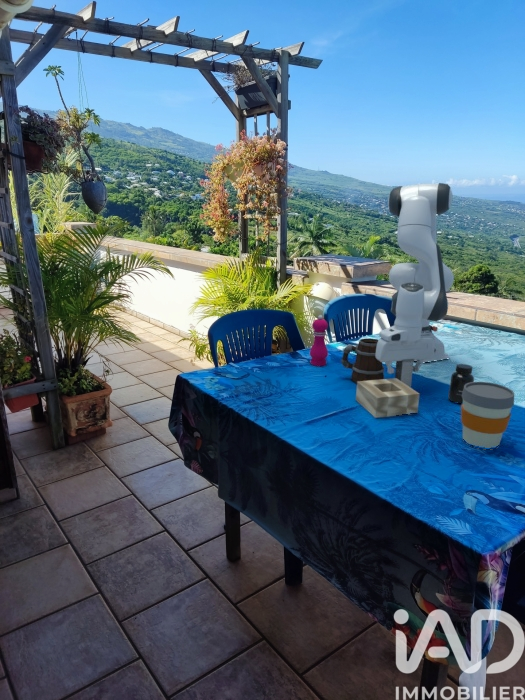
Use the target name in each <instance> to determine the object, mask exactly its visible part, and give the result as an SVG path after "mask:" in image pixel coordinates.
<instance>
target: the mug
mask: <svg viewBox="0 0 525 700" xmlns="http://www.w3.org/2000/svg"><path fill="white" fill-rule="evenodd" d="M378 340H379V339H376V338H366V337H365V338H360V339H359V341H358V343H357V344H358V345H355V346H354V345H353V344H348V345H347V346H345V347H344V349H343V353H342V359H340V362H341V365H342V366H343V367H344V368H345V369H346V370H348V369H351V371H352V372H351V375H350V376H351V377H350V380H351V381H352V382H353V383H355V384H356V385H357V381H368V380H380V379H385V373H384V372H385V366H383V362H380V361H379V360H377V358H376V356H375V354H376V347H377V343H378ZM353 352H354V354H355V355H356V356H355V361H354V362H353V363H352V362H350V361H349V358H348V357H349V354H350V353H353Z"/></svg>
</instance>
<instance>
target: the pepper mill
mask: <svg viewBox="0 0 525 700" xmlns="http://www.w3.org/2000/svg"><path fill="white" fill-rule="evenodd" d="M311 325H312V326H311V327H312V329H313V336H314V339H313V343H312V345H311V348H310V350H309V356H310V357H311V359H310V365H312V366H314V367H324V366H326V365H327V359H326V358H327V357H328V355H329V352H328V348H327V345H326V343H325V337H326V335H327V329H328V328H329V327H328V326H329V324H328V321H326V320H325V318H323V315H322V314H319V315H318V316H317V319H315V320H313V322H312V324H311Z"/></svg>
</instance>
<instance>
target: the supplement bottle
mask: <svg viewBox="0 0 525 700" xmlns="http://www.w3.org/2000/svg"><path fill="white" fill-rule="evenodd" d="M472 373H473V366H472V365H469V364H466V363H459V364H456V365H455V371H454V372H453V373H452V374H451V377H450V383H449V389H448V396H447V397H448V398H449V399H450V400H451V401H454V402H458V403H463V398H462V392H463V389H464V385H465V384H467V383H470V382H475V377H474V375H473V374H472ZM449 399H448V400H449ZM450 400H449V401H450ZM451 401H450V402H451ZM454 402H453V403H454Z"/></svg>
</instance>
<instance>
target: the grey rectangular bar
mask: <svg viewBox="0 0 525 700" xmlns="http://www.w3.org/2000/svg"><path fill="white" fill-rule="evenodd" d="M395 362H396V363H395V370H394V378H397V379H398V380H400V381H401V382H403V383H404V384H406V385H407V386H409V387H410V388H412V387H411V386H412V379H413V372H414V371H413V366H414V363H415V362H414V359H407V360H402V361H395Z"/></svg>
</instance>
